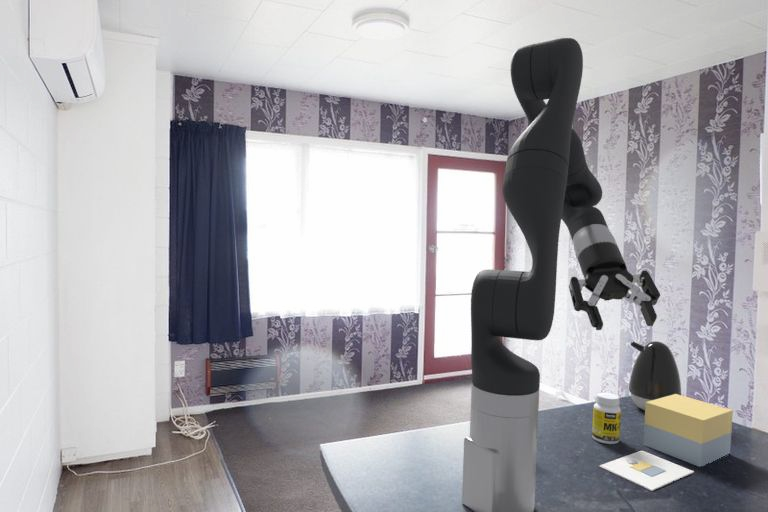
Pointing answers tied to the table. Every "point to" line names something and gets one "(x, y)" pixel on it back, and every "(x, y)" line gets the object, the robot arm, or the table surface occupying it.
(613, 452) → the table surface
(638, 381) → the pump dispenser
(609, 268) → the robot arm
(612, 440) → the supplement bottle
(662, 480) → the page
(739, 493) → the table surface
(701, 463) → the yellow and grey block
